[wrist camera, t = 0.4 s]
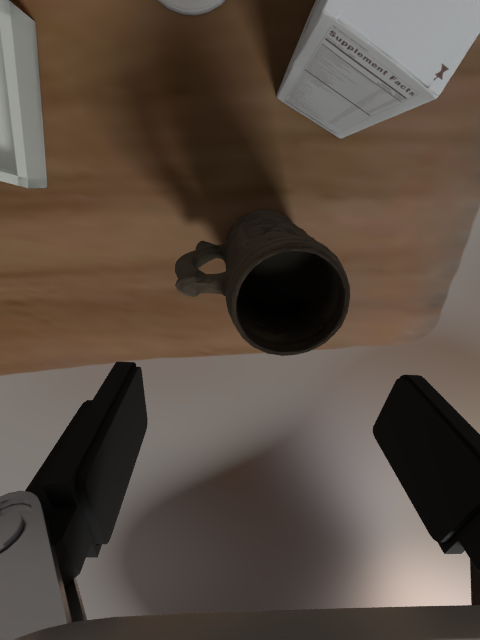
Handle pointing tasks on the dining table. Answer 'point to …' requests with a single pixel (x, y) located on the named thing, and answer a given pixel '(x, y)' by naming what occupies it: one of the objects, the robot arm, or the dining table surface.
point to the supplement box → (375, 59)
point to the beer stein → (272, 283)
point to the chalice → (191, 6)
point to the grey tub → (20, 101)
